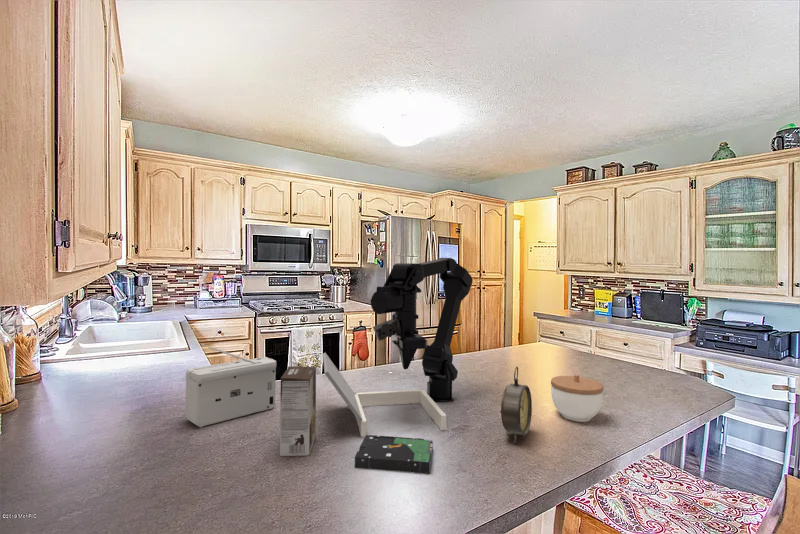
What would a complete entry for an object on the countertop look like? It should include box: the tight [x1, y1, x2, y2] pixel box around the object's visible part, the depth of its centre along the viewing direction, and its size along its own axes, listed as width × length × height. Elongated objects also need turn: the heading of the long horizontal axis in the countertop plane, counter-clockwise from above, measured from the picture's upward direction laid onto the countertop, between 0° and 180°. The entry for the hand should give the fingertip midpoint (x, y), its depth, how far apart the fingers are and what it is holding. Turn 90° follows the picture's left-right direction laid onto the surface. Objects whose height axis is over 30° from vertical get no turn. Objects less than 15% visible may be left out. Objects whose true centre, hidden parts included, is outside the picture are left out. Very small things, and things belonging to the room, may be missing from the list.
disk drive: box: [354, 434, 434, 475], centre depth 80 cm, size 10×3×15 cm
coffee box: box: [279, 365, 317, 457], centre depth 84 cm, size 9×6×16 cm
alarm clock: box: [500, 365, 533, 445], centre depth 91 cm, size 11×5×16 cm, turn 148°
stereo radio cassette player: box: [185, 343, 278, 428], centre depth 101 cm, size 21×8×20 cm, turn 134°
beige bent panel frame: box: [322, 352, 447, 438], centre depth 100 cm, size 29×20×15 cm
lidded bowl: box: [550, 374, 604, 423], centre depth 103 cm, size 13×13×11 cm
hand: (405, 368), depth 104 cm, fingers closed
